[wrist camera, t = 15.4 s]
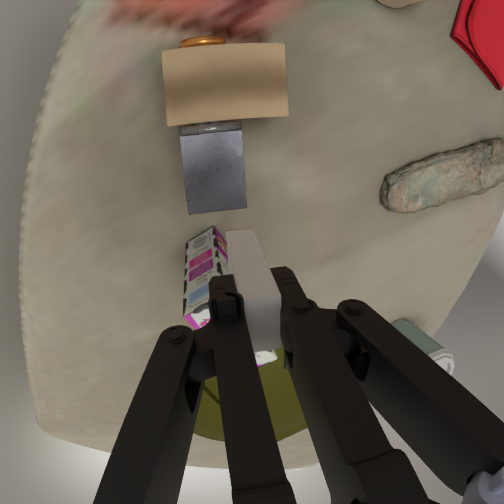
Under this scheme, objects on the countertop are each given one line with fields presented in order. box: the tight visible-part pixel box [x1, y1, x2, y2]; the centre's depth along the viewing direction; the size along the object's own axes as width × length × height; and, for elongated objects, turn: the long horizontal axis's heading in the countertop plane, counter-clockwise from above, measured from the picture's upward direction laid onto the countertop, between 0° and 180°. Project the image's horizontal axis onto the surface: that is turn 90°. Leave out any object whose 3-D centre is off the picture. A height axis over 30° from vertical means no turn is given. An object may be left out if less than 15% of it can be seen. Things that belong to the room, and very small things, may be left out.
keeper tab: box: [179, 121, 247, 215], centre depth 31 cm, size 9×6×1 cm
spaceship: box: [193, 340, 308, 442], centre depth 54 cm, size 35×31×10 cm
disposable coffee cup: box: [391, 319, 455, 375], centre depth 52 cm, size 11×11×15 cm
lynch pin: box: [180, 36, 226, 125], centre depth 33 cm, size 13×5×5 cm, turn 3°
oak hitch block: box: [161, 43, 288, 127], centre depth 31 cm, size 8×12×8 cm, turn 93°
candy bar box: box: [183, 226, 278, 368], centre depth 38 cm, size 11×5×16 cm, turn 31°
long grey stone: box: [380, 138, 504, 213], centre depth 44 cm, size 35×5×10 cm
